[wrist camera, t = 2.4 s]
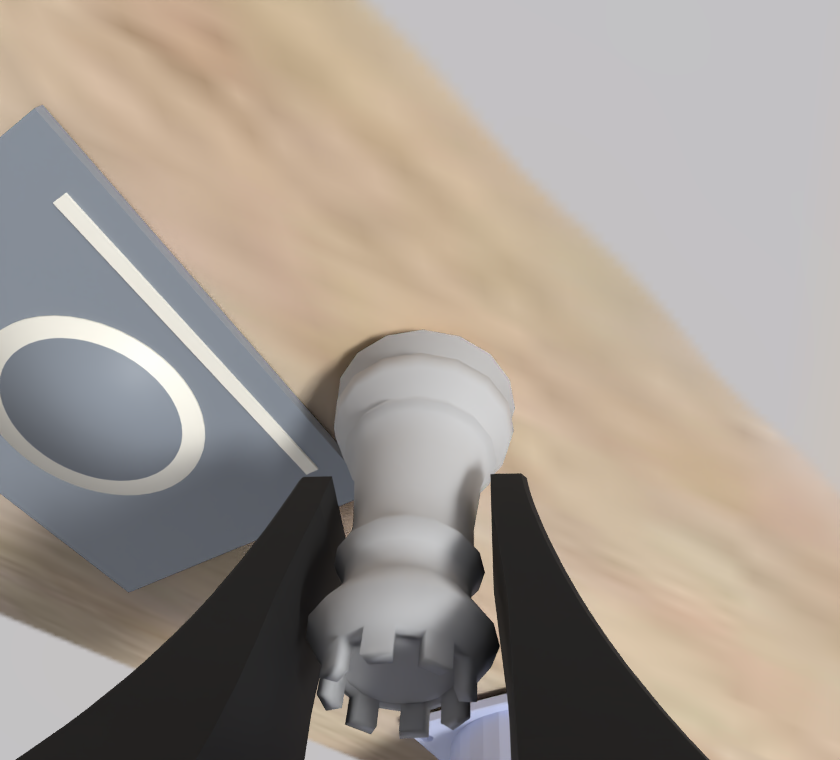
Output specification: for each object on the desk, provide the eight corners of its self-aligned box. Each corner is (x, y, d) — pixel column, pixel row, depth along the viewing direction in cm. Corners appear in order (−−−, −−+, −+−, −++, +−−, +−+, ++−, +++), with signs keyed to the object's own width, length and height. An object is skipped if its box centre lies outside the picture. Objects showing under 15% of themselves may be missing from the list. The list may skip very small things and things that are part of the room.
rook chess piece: (348, 458, 18) (278, 759, 12) (331, 318, 16) (227, 603, 9) (509, 461, 18) (530, 773, 11) (519, 319, 15) (554, 616, 9)
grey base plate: (373, 485, 19) (371, 495, 18) (132, 585, 22) (127, 594, 22) (42, 105, 13) (31, 109, 13) (-210, 317, 17) (-223, 325, 16)
